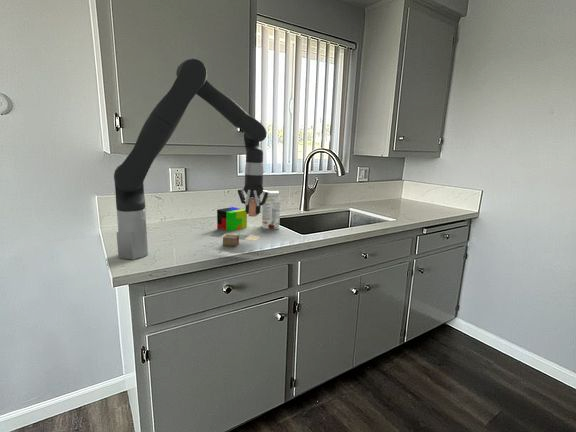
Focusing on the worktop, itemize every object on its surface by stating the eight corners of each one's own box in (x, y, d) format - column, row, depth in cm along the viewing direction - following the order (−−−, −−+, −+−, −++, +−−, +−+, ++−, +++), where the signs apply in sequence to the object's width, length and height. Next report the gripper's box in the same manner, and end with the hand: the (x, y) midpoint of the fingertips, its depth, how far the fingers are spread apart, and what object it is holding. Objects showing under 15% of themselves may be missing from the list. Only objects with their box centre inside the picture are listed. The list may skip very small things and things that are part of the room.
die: (234, 250, 129) (234, 238, 128) (222, 249, 130) (222, 237, 129) (239, 246, 134) (239, 234, 133) (227, 245, 135) (227, 233, 134)
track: (256, 243, 138) (256, 240, 138) (208, 238, 143) (208, 235, 142) (261, 239, 145) (261, 236, 145) (215, 234, 149) (215, 231, 149)
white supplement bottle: (279, 231, 159) (280, 192, 155) (261, 231, 158) (262, 192, 154) (278, 227, 166) (279, 190, 162) (261, 227, 166) (262, 190, 161)
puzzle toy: (233, 226, 166) (233, 207, 163) (246, 230, 159) (246, 210, 157) (217, 229, 158) (217, 209, 156) (231, 234, 152) (231, 213, 150)
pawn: (254, 216, 137) (254, 198, 136) (247, 215, 139) (247, 198, 137) (258, 215, 141) (259, 197, 139) (251, 214, 142) (251, 196, 140)
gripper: (234, 173, 134) (234, 214, 137) (267, 175, 131) (266, 217, 135) (241, 171, 141) (240, 210, 145) (272, 174, 138) (271, 213, 142)
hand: (252, 213), depth 140 cm, fingers closed on pawn, 3 cm apart
